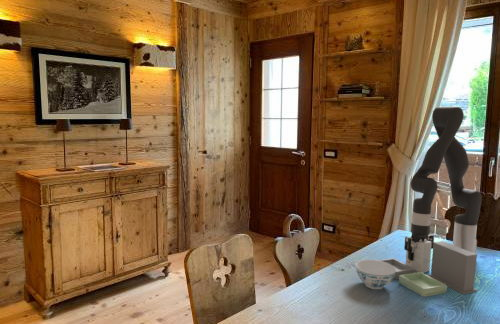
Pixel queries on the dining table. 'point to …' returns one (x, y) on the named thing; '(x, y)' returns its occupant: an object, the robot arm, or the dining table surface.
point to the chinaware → (375, 273)
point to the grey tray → (399, 267)
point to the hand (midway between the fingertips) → (418, 259)
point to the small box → (420, 256)
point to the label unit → (454, 267)
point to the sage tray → (422, 284)
